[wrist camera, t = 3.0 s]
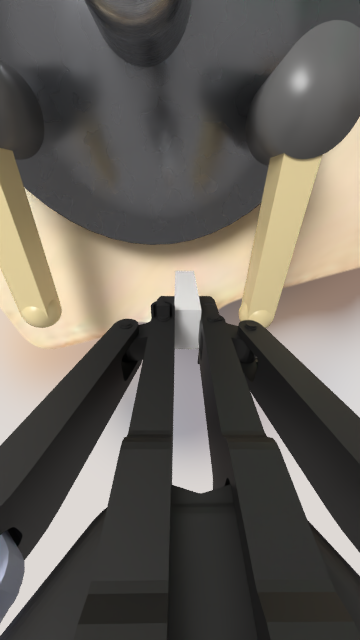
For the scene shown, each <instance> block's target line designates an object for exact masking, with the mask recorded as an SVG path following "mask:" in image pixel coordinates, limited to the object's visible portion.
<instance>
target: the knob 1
mask: <svg viewBox="0 0 360 640" xmlns="http://www.w3.org/2000/svg"><path fill="white" fill-rule="evenodd" d="M43 139H44V119H43V114H42V111H41V108H40V105H39V102H38V100H37V98H36V96H35V94H34V92H33V91H32V89H31V88H30V86H29V85H28V83H27V82H26V81H25V80H24V78H23V77H22V76H21V75H20V74H19V73H18V72H16V71H15V70H14V69H13V68H11V67H10V66H9V65H7V64H6V63H5V62H3V61H2V60H0V268H1V271H2V273H3V275H4V277H5V280H6V282H7V284H8V287H9V289H10V291H11V294H12V296H13V298H14V300H15V303H16V305H17V307H18V310H19V312H20V314H21V316H22V317H23V319H24V320H25V321H26V322H27V323H28V324H30V325H32V326H34V327H39V328H45V327H49V326H52V325H54V324H55V323H56V322H57V321H58V320H59V319H60V317H61V313H62V309H61V306H60V301H59V298H58V295H57V292H56V289H55V285H54V282H53V279H52V276H51V273H50V269H49V266H48V263H47V260H46V256H45V253H44V250H43V247H42V244H41V240H40V237H39V234H38V231H37V228H36V224H35V221H34V218H33V215H32V212H31V208H30V205H29V202H28V199H27V196H26V192H25V189H24V186H23V183H22V180H21V176H20V173H19V170H18V167H17V164H16V160H15V159H18V160H22V159H28V158H30V157H32V156H34V155H35V154H36V153H37V152H38V151H39V149H40V147H41V145H42V143H43Z"/></svg>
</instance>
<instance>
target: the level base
mask: <svg viewBox="0 0 360 640" xmlns="http://www.w3.org/2000/svg"><path fill="white" fill-rule="evenodd" d="M332 20H343V21H348V22H350V23H353V24H354V25H356V26H357V27H359V29H360V0H0V60H2V61H3V62H5V63H6V64H7V65H9V66H10V67H11V68H13V69H14V70H15V71H16V72H18V73H19V74H20V75H21V76H22V77H23V78H24V80H25V81H26V82H27V83H28V85H29V86H30V88H31V89H32V91H33V92H34V94H35V96H36V98H37V100H38V102H39V105H40V108H41V111H42V114H43V119H44V139H43V143H42V145H41V147H40V149H39V151H38V152H37V153H36V154H35V155H34V156H32V157H30V158H28V159H22V160H18V159H15V160H16V164H17V167H18V170H19V173H20V176H21V180H22V183H23V186H24V187H25V188H26V189H27V190H28V191H29V192H31V193H32V194H33V195H34V196H36V197H37V198H38V199H39V200H41V201H42V202H43V203H44V204H46V205H47V206H48V207H50V208H51V209H53V210H54V211H56V212H57V213H59V214H61V215H62V216H64V217H65V218H67V219H68V220H70V221H72V222H74V223H76V224H78V225H80V226H82V227H84V228H86V229H88V230H90V231H92V232H95V233H98V234H101V235H104V236H106V237H109V238H112V239H117V240H121V241H126V242H130V243H139V244H150V245H155V244H173V243H178V242H183V241H189V240H193V239H196V238H199V237H202V236H205V235H208V234H211V233H213V232H215V231H217V230H219V229H222V228H224V227H226V226H228V225H230V224H232V223H233V222H235V221H236V220H238V219H239V218H241V217H242V216H244V215H246V214H247V213H249V212H250V211H251V210H253V209H254V208H255V207H256V206H258V205H259V204H260V203H261V202H262V197H263V192H264V187H265V182H266V177H267V172H268V167H269V166H267V165H264V164H262V163H260V162H259V161H257V160H256V159H255V158H254V157H253V155H252V154H251V152H250V150H249V148H248V145H247V141H246V134H245V127H246V118H247V114H248V110H249V107H250V105H251V102H252V100H253V98H254V96H255V94H256V93H257V91H258V90H259V88H260V87H261V86H262V85H263V83H264V82H265V81H266V80H267V78H268V77H269V76H270V75H271V73H272V72H273V71H274V70H275V68H276V67H277V66H278V65H279V63H280V62H281V61H282V60H283V58H284V57H285V56H286V55H287V53H288V52H289V51H290V50H291V48H292V47H293V46H294V45H295V43H296V42H297V41H298V40H299V39H300V38H301V37H302V36H303V35H305V34H306V33H307V32H308V31H309V30H311V29H313V28H314V27H316V26H318V25H320V24H322V23H324V22H328V21H332Z"/></svg>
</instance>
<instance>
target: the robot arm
mask: <svg viewBox="0 0 360 640" xmlns="http://www.w3.org/2000/svg"><path fill="white" fill-rule="evenodd" d="M151 316H152V319H151V321H150V322H148V323H146V324H142V325H138V322H137V321H135V320H133V319H122V320H120V321H117V322H116V323H115V324H114V325H113V326H112V327H111V328H110V329H109V330H108V331H107V332H106V333H105V334H104V336H103V337H102V338H101V339H100V340H99V341H98V342H97V343H96V344H95V345H94V346H93V347H92V348H91V349H90V350H89V352H88V353H87V354H86V355H85V356H84V357H83V358H82V359H81V360H80V361H79V362H78V363H77V364H76V365H75V367H74V368H73V369H72V370H71V371H70V372H69V373H68V374H67V375H66V376H65V377H64V378H63V379H62V380H61V381H60V383H59V384H58V385H57V386H56V387H55V388H54V389H53V390H52V391H51V392H50V393H49V394H48V396H47V397H46V398H45V399H44V400H43V401H42V402H41V403H40V404H39V405H38V406H37V407H36V408H35V409H34V410H33V411H32V413H31V414H30V415H29V416H28V417H27V418H26V419H25V420H24V421H23V422H22V423H21V424H20V425H19V427H18V428H17V429H16V430H15V431H14V432H13V433H12V434H11V435H10V436H9V437H8V438H7V439H6V440H5V441H4V442H3V444H2V445H1V446H0V623H1V621H2V619H3V618H4V616H5V614H6V613H7V611H8V609H9V608H10V606H11V605H12V604H13V603H14V601H15V599H16V597H17V595H18V593H19V589H20V586H21V584H22V580H23V576H24V560H25V559H26V557H27V556H28V555H29V554H30V552H31V551H32V550H33V548H34V547H35V545H36V544H37V543H38V541H39V540H40V538H41V537H42V535H43V534H44V533H45V531H46V530H47V528H48V527H49V525H50V523H51V522H52V520H53V518H54V517H55V515H56V513H57V512H58V510H59V508H60V507H61V505H62V503H63V501H64V500H65V498H66V496H67V494H68V492H69V491H70V489H71V487H72V485H73V483H74V482H75V480H76V478H77V477H78V475H79V473H80V471H81V469H82V468H83V466H84V464H85V462H86V460H87V459H88V457H89V455H90V453H91V452H92V450H93V448H94V446H95V445H96V443H97V441H98V439H99V437H100V436H101V434H102V432H103V430H104V429H105V427H106V425H107V423H108V421H109V420H110V418H111V416H112V414H113V413H114V411H115V409H116V407H117V405H118V404H119V402H120V400H121V398H122V397H123V395H124V393H125V391H126V389H127V388H128V386H129V384H130V382H131V381H132V379H133V377H134V375H135V374H136V372H137V370H138V368H139V366H140V365H141V362H142V360H143V363H142V368H141V374H140V378H139V383H138V388H137V393H136V398H135V403H134V408H133V413H132V418H131V422H130V427H129V432H128V435H127V437H125V438H124V440H123V441H122V445H121V448H120V453H119V457H118V462H117V466H116V471H115V475H114V480H113V485H112V489H111V494H110V498H109V503H108V507H107V508H106V509H105V510H104V511H102V512H101V513H100V514H99V515H98V516H97V517H96V518H95V519H94V521H93V522H92V523H91V524H90V525H89V527H88V528H87V529H86V530H85V531H84V533H83V534H82V535H81V536H80V538H79V539H78V540H77V541H76V543H75V544H74V545H73V546H72V548H71V549H70V550H69V551H68V553H67V554H66V555H65V557H64V558H63V559H62V560H61V561H60V563H59V564H58V565H57V566H56V567H55V569H54V570H53V571H52V572H51V574H50V575H49V576H48V578H47V579H46V580H45V581H44V582H43V584H42V585H41V586H40V587H39V589H38V590H37V591H36V593H35V594H34V595H33V596H32V597H31V599H30V600H29V601H28V602H27V604H26V605H25V606H24V607H23V609H22V610H21V611H20V612H19V613H18V615H17V616H16V617H15V618H14V620H13V621H12V623H10V625H9V626H8V627H7V628H6V630H5V631H4V632H3V633H2V635H1V636H0V640H360V576H359V575H358V574H357V573H356V572H355V571H354V570H353V568H352V567H351V566H350V565H349V564H348V563H347V562H346V561H345V560H344V559H343V558H342V557H341V555H339V553H338V552H337V551H336V550H335V549H334V548H333V547H332V546H331V545H330V544H329V543H328V542H327V540H326V539H325V538H324V537H323V536H322V535H321V534H320V533H319V532H318V531H317V530H316V529H315V528H314V527H313V525H311V523H309V521H308V520H307V518H306V516H305V513H304V511H303V508H302V506H301V503H300V500H299V498H298V495H297V493H296V490H295V488H294V485H293V482H292V480H291V477H290V475H289V473H288V470H287V467H286V464H285V462H284V459H283V457H282V454H281V452H280V449H279V447H278V445H277V443H276V442H275V440H274V439H273V438H270V437H267V436H266V434H265V432H264V430H263V427H262V424H261V421H260V418H259V415H258V413H257V410H256V407H255V404H254V401H253V398H252V396H251V393H252V394H253V396H254V398H255V399H256V401H257V402H258V404H259V405H260V407H261V408H262V410H263V411H264V413H265V415H266V416H267V418H268V419H269V421H270V422H271V424H272V425H273V427H274V428H275V430H276V431H277V433H278V434H279V436H280V438H281V439H282V441H283V442H284V444H285V445H286V447H287V448H288V450H289V451H290V453H291V454H292V456H293V457H294V459H295V460H296V462H297V464H298V465H299V467H300V468H301V470H302V471H303V473H304V474H305V476H306V477H307V479H308V480H309V482H310V484H311V485H312V486H313V488H314V490H315V491H316V493H317V494H318V496H319V497H320V499H321V500H322V502H323V503H324V505H325V506H326V508H327V509H328V511H329V512H330V514H331V515H332V517H333V518H334V520H335V521H336V522H337V524H338V525H339V526H340V528H341V530H342V531H343V532H344V533H345V534H346V536H347V537H348V538H349V540H350V541H351V542H352V543H353V545H354V546H355V547H356V548H357V549H358V551H359V552H360V418H359V417H358V416H357V415H356V414H355V413H354V412H353V411H352V410H351V409H350V408H349V407H348V406H347V405H346V404H345V403H344V402H343V401H342V400H340V399H339V398H338V397H337V396H336V395H335V394H334V393H333V392H332V391H331V390H330V389H329V388H328V387H327V386H326V385H324V383H322V382H321V381H320V380H319V379H318V378H317V377H316V376H315V375H314V374H313V373H312V372H311V371H310V370H309V369H308V368H307V367H306V366H305V365H304V364H302V363H301V362H300V361H299V360H298V359H297V358H296V357H295V356H294V355H293V354H292V353H291V352H290V351H289V350H288V349H287V348H285V346H284V345H282V344H281V343H280V342H279V341H278V340H277V339H276V338H275V337H274V336H273V335H272V334H271V333H270V332H269V331H268V330H267V329H266V328H265V327H263V326H262V325H261V324H260V323H258V322H256V321H253V320H243V321H241V322H240V323H239V326H235V325H231V324H227V323H226V322H225V319H224V318H223V317H222V316H220V315H219V312H218V309H217V306H216V303H215V300H214V299H213V298H212V297H210V296H199V295H198V290H197V284H196V279H195V274H194V271H176V273H175V296H161V297H159V298H158V299H157V301H156V302H154V303H152V305H151ZM198 345H199V355H198V364H200V371H201V379H202V388H203V396H204V405H205V413H206V421H207V430H208V438H209V447H210V455H211V464H212V472H213V490H212V491H209V492H206V493H202V494H200V493H196V492H193V491H189V490H186V489H183V488H180V487H177V486H174V485H172V453H173V402H174V401H173V400H174V398H173V397H174V349H198ZM250 392H251V393H250Z"/></svg>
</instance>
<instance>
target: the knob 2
mask: <svg viewBox="0 0 360 640" xmlns="http://www.w3.org/2000/svg"><path fill="white" fill-rule="evenodd" d="M359 117H360V29H359V27H357V26H356V25H354V24H353V23H350V22H348V21H343V20H332V21H328V22H324V23H322V24H320V25H318V26H316V27H314V28H313V29H311V30H309V31H308V32H307V33H306V34H305V35H303V36H302V37H301V38H300V39H299V40H298V41H297V42H296V43H295V45H294V46H293V47H292V48H291V50H290V51H289V52H288V53H287V55H286V56H285V57H284V58H283V60H282V61H281V62H280V63H279V65H278V66H277V67H276V68H275V70H274V71H273V72H272V73H271V75H270V76H269V77H268V78H267V80H266V81H265V82H264V83H263V85H262V86H261V87H260V88H259V90H258V91H257V93H256V94H255V96H254V98H253V100H252V102H251V105H250V107H249V110H248V114H247V118H246V127H245V134H246V141H247V145H248V148H249V150H250V152H251V154H252V155H253V157H254V158H255V159H256V160H257V161H259V162H260V163H262V164H264V165H267V166H269V167H268V172H267V177H266V182H265V187H264V192H263V197H262V202H261V208H260V213H259V218H258V223H257V228H256V233H255V238H254V243H253V248H252V253H251V258H250V263H249V269H248V274H247V279H246V284H245V289H244V294H243V299H242V304H241V307H240V309H239V319H240V322H241V321H243V320H253V321H256V322H258V323H260V324H261V325H262V326H263V327H265V328H267V327H268V326H269V325H270V324H271V323H272V321H273V319H274V315H275V311H276V308H277V305H278V302H279V298H280V295H281V292H282V288H283V285H284V282H285V278H286V275H287V272H288V268H289V265H290V262H291V258H292V255H293V251H294V248H295V245H296V241H297V238H298V235H299V231H300V228H301V225H302V221H303V218H304V215H305V211H306V208H307V205H308V201H309V198H310V195H311V191H312V188H313V184H314V181H315V178H316V174H317V171H318V168H319V164H320V161H321V158H322V154H324V153H326V152H328V151H329V150H331V149H332V148H334V147H335V146H336V145H337V144H339V143H340V142H341V141H342V140H343V139H344V138H345V137H346V135H347V134H348V133H349V132H350V130H351V129H352V128H353V126H354V125H355V123H356V122H357V120H358V118H359Z"/></svg>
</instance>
